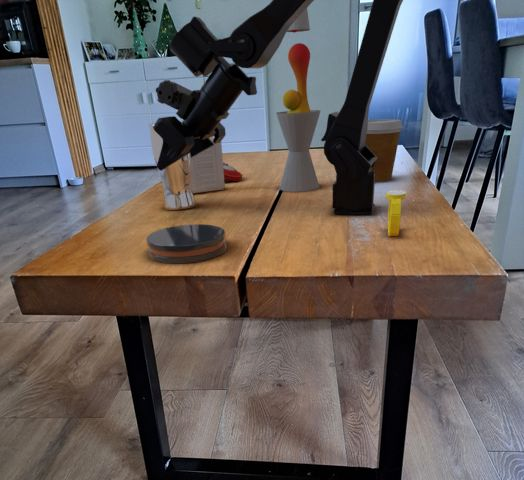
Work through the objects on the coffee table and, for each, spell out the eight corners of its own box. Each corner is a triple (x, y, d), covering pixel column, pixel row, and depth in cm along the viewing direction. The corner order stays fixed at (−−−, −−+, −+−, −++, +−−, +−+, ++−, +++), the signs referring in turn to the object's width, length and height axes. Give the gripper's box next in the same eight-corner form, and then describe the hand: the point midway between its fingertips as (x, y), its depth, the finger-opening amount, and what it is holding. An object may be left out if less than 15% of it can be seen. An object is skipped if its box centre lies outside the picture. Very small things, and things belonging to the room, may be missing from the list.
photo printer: (220, 187, 112) (215, 128, 106) (228, 189, 109) (223, 129, 103) (178, 193, 108) (170, 132, 102) (184, 196, 105) (176, 133, 99)
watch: (382, 228, 75) (385, 188, 72) (401, 228, 74) (404, 187, 71) (383, 239, 70) (386, 196, 67) (403, 239, 69) (407, 196, 66)
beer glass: (201, 207, 94) (189, 121, 86) (165, 212, 92) (149, 125, 85) (195, 200, 99) (183, 119, 92) (160, 205, 98) (146, 123, 91)
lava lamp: (309, 182, 112) (308, -6, 95) (327, 188, 104) (329, -14, 87) (272, 186, 109) (264, -5, 92) (288, 193, 102) (283, -14, 85)
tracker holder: (251, 174, 118) (214, 169, 112) (246, 192, 120) (210, 188, 115) (228, 158, 126) (193, 152, 120) (224, 175, 128) (189, 170, 122)
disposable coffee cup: (353, 177, 114) (354, 120, 109) (394, 174, 114) (398, 118, 108) (358, 184, 106) (361, 124, 100) (402, 182, 106) (407, 121, 100)
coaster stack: (236, 240, 73) (235, 224, 72) (210, 264, 64) (208, 247, 63) (169, 239, 76) (166, 223, 75) (135, 262, 66) (131, 244, 65)
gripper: (204, 62, 90) (160, 129, 99) (154, 60, 75) (107, 139, 84) (247, 108, 92) (200, 169, 100) (207, 115, 77) (155, 187, 85)
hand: (167, 165), depth 92 cm, fingers closed on beer glass, 7 cm apart
